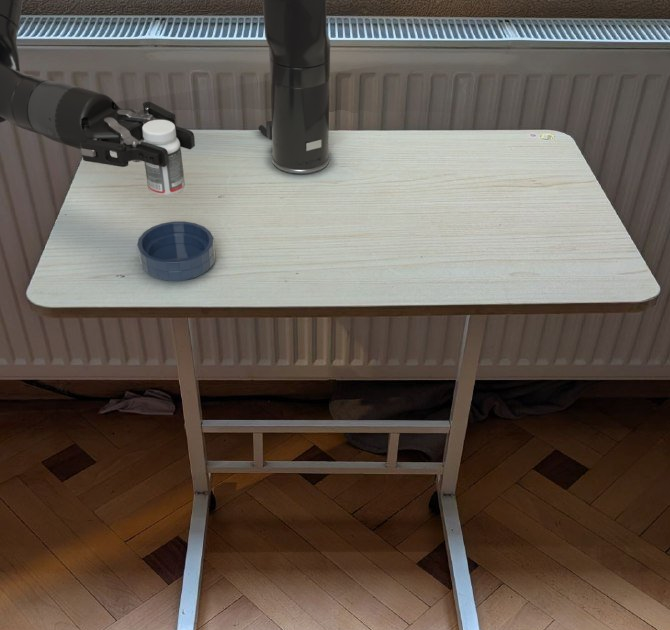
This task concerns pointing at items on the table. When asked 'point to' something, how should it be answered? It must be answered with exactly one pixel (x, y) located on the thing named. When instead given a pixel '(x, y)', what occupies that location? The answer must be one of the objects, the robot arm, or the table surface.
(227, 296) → the table surface
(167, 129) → the pill bottle
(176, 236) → the dish
